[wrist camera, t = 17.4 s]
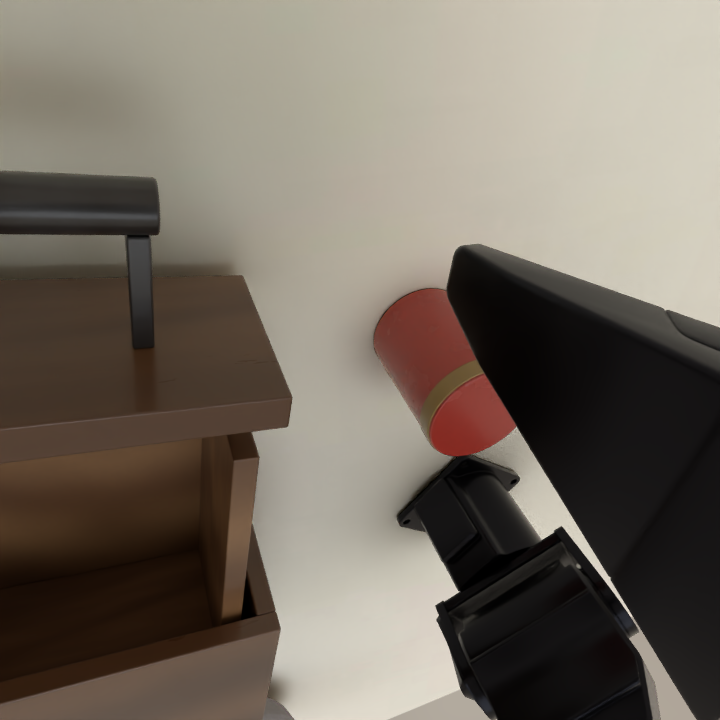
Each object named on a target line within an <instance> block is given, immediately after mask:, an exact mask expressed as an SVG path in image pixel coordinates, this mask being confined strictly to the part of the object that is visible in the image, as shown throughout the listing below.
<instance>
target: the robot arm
mask: <svg viewBox="0 0 720 720" xmlns="http://www.w3.org/2000/svg"><path fill="white" fill-rule="evenodd" d="M447 297H448V300H449V303H450V305H451V307H452V309H453V311H454V313H455V315H456V318H457V320H458V322H459V324H460V326H461V328H462V330H463V333H464V335H465V337H466V339H467V341H468V343H469V345H470V347H471V350H472V352H473V354H474V356H475V358H476V360H477V362H478V364H479V365H480V367H481V369H482V371H483V372H484V374H485V376H486V377H487V379H488V381H489V382H490V384H491V386H492V387H493V389H494V390H495V392H496V394H497V395H498V397H499V399H500V400H501V402H502V403H503V405H504V407H505V408H506V410H507V412H508V413H509V415H510V417H511V418H512V420H513V421H514V423H515V425H516V426H517V428H518V430H519V431H520V433H521V434H522V436H523V438H524V439H525V441H526V443H527V444H528V446H529V447H530V449H531V451H532V452H533V454H534V456H535V457H536V459H537V460H538V462H539V464H540V465H541V467H542V469H543V470H544V472H545V473H546V475H547V477H548V478H549V480H550V482H551V483H552V485H553V487H554V488H555V490H556V491H557V493H558V495H559V496H560V498H561V500H562V501H563V503H564V504H565V506H566V508H567V509H568V511H569V513H570V514H571V516H572V517H573V519H574V521H575V522H576V524H577V526H578V527H579V529H580V530H581V532H582V534H583V535H584V537H585V539H586V540H587V542H588V543H589V545H590V547H591V548H592V550H593V552H594V553H595V555H596V556H597V558H598V560H599V561H600V563H601V565H602V566H603V568H604V570H605V571H606V573H607V574H608V576H609V577H611V581H612V583H613V585H614V586H615V588H616V590H617V591H618V593H619V594H620V596H621V598H622V599H623V601H624V603H625V604H626V606H627V608H628V609H629V611H630V612H631V614H632V616H633V617H634V619H635V621H636V622H637V624H638V625H639V627H640V629H641V630H642V632H643V634H644V635H645V637H646V638H647V640H648V642H649V643H650V645H651V647H652V648H653V650H654V652H655V653H656V655H657V656H658V658H659V660H660V661H661V663H662V664H663V666H664V668H665V669H666V671H667V673H668V674H669V676H670V678H671V679H672V681H673V683H674V684H675V686H676V687H677V689H678V691H679V692H680V694H681V695H682V697H683V699H684V700H685V702H686V704H687V705H688V706H689V709H690V710H691V712H692V713H693V715H694V716H695V718H696V719H697V720H720V327H717V326H714V325H711V324H708V323H705V322H702V321H699V320H696V319H693V318H690V317H687V316H684V315H681V314H678V313H676V312H673V311H670V310H666V311H665V310H664V309H663V308H661V307H658V306H655V305H653V304H650V303H647V302H644V301H641V300H638V299H635V298H633V297H630V296H627V295H624V294H621V293H618V292H616V291H613V290H610V289H607V288H604V287H601V286H598V285H596V284H593V283H590V282H587V281H584V280H581V279H578V278H576V277H573V276H570V275H567V274H564V273H561V272H559V271H556V270H553V269H550V268H547V267H544V266H541V265H539V264H536V263H533V262H530V261H527V260H524V259H521V258H519V257H516V256H513V255H510V254H507V253H504V252H502V251H499V250H496V249H493V248H490V247H487V246H484V245H481V244H472V245H463V246H460V247H458V248H457V249H456V251H455V253H454V256H453V260H452V265H451V269H450V274H449V278H448V283H447ZM519 481H520V477H519V476H518V474H517V473H516V472H513V471H511V470H508V469H506V468H503V467H500V466H498V465H495V464H492V463H490V462H487V461H485V460H482V459H479V458H477V457H474V456H471V455H465V456H458V457H457V458H456V459H455V460H454V461H453V462H452V463H451V464H450V465H449V466H448V467H447V468H446V469H445V470H444V471H443V472H442V473H441V474H440V475H439V476H438V477H437V478H436V479H435V480H434V481H433V482H432V483H431V484H430V485H429V486H428V487H427V488H426V489H425V490H424V491H423V492H422V493H421V494H420V495H419V496H418V497H417V498H416V499H415V500H414V501H413V502H412V503H411V504H410V505H409V506H408V507H407V508H406V509H405V510H404V511H403V512H402V513H401V514H400V515H399V516H398V517H397V521H398V523H399V525H400V526H401V527H405V528H410V529H414V530H419V531H424V532H426V533H427V534H428V536H429V538H430V540H431V542H432V544H433V546H434V548H435V550H436V552H437V553H438V555H439V557H440V559H441V561H442V562H443V563H444V565H445V567H446V569H447V571H448V573H449V574H450V576H451V578H452V580H453V582H454V584H455V586H456V588H457V590H458V591H460V592H459V593H457V594H456V595H454V596H453V597H451V598H450V599H448V600H446V601H445V602H444V601H442V602H440V603H439V604H437V605H435V606H436V609H437V612H438V614H439V616H438V618H437V622H438V624H439V627H440V629H441V631H442V633H443V635H444V637H445V639H446V641H447V644H448V646H449V649H450V652H451V656H452V660H453V663H454V667H455V671H456V674H457V678H458V682H459V686H460V689H461V691H462V693H463V694H464V696H465V697H467V698H469V699H472V700H475V701H476V702H477V704H478V705H479V706H480V707H481V708H482V710H483V711H484V713H485V714H486V715H487V716H488V717H489V718H490V719H491V720H496V719H497V720H661V718H660V711H659V705H658V698H657V692H656V686H655V682H654V680H653V678H652V676H651V675H650V673H649V671H648V669H647V667H646V665H645V663H644V661H643V659H642V658H641V656H640V654H639V652H638V651H637V649H636V648H635V647H634V645H633V644H632V643H631V641H630V640H629V638H630V637H632V636H633V635H635V634H637V633H638V632H639V630H638V629H637V627H636V625H635V624H634V622H633V620H632V619H631V617H630V616H629V614H628V613H627V611H626V610H625V608H624V607H623V606H622V604H621V603H620V601H619V600H618V598H617V597H616V596H615V594H614V593H613V592H612V590H611V589H610V588H609V586H608V585H607V584H606V582H605V581H604V580H603V578H602V577H601V576H600V574H599V573H598V572H597V571H596V569H595V568H594V567H593V565H592V564H591V563H590V562H589V560H588V559H587V558H586V557H585V555H584V554H583V553H582V551H581V550H580V549H579V548H578V546H577V545H576V544H575V542H574V541H573V540H572V539H571V537H570V536H569V535H568V533H567V532H566V531H565V530H564V528H563V527H562V526H561V527H559V528H558V529H556V530H554V533H553V534H551V535H550V536H548V537H546V538H545V539H543V540H541V538H540V537H539V535H538V534H537V533H536V531H535V530H534V528H533V527H532V525H531V524H530V522H529V521H528V520H527V518H526V517H525V515H524V514H523V512H522V511H521V509H520V508H519V507H518V505H517V504H516V502H515V501H514V499H513V498H512V496H511V495H510V494H509V491H510V490H511V489H512V488H513V487H514V486H515V485H516V484H517V483H518V482H519Z"/></svg>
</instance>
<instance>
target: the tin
mask: <svg viewBox="0 0 720 720" xmlns="http://www.w3.org/2000/svg"><path fill="white" fill-rule="evenodd" d="M374 349H375V352H376V354H377V356H378V358H379V360H380V361H381V363H382V364H383V366H384V368H385V369H386V371H387V373H388V374H389V376H390V377H391V379H392V381H393V382H394V384H395V386H396V387H397V389H398V390H399V392H400V394H401V395H402V397H403V398H404V400H405V402H406V403H407V405H408V407H409V408H410V410H411V411H412V413H413V415H414V416H415V418H416V419H417V421H418V423H419V424H420V426H421V429H422V431H423V433H424V435H425V436H426V438H427V440H428V441H429V443H430V445H431V446H432V447H433V448H434V449H436V450H437V451H439V452H441V453H443V454H445V455H449V456H465V455H470V454H474V453H477V452H480V451H482V450H484V449H487V448H489V447H491V446H492V445H494V444H496V443H497V442H499V441H500V440H502V439H503V438H504V437H506V436H507V435H508V434H509V433H510V432H511V431H512V430H513V429H514V428H515V427H516V425H515V423H514V421H513V420H512V418H511V417H510V415H509V413H508V412H507V410H506V408H505V407H504V405H503V403H502V402H501V400H500V399H499V397H498V395H497V394H496V392H495V390H494V389H493V387H492V386H491V384H490V382H489V381H488V379H487V377H486V376H485V374H484V372H483V371H482V369H481V367H480V365H479V364H478V362H477V360H476V358H475V356H474V354H473V352H472V350H471V347H470V345H469V343H468V341H467V339H466V337H465V335H464V333H463V330H462V328H461V326H460V324H459V322H458V320H457V318H456V315H455V313H454V311H453V309H452V307H451V305H450V303H449V300H448V297H447V291H444V290H441V289H423V290H419V291H416V292H413V293H411V294H408V295H406V296H405V297H403V298H401V299H400V300H398V301H397V302H396V303H394V304H393V305H392V306H391V307H390V308H389V309H388V310H387V311H386V312H385V314H384V315H383V316H382V318H381V320H380V321H379V323H378V325H377V328H376V331H375V335H374Z"/></svg>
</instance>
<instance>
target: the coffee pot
mask: <svg viewBox="0 0 720 720" xmlns="http://www.w3.org/2000/svg"><path fill="white" fill-rule="evenodd" d="M263 720H294V718H293V717H292V716H291V715H290V713H289V712H288V711H287V710H286V709H285V707H284V706H283V705H282V704H280V703H278V702H277V701H275V700H273V699H271V698H267V701H266V706H265V711H264V716H263Z"/></svg>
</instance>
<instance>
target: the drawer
mask: <svg viewBox="0 0 720 720" xmlns="http://www.w3.org/2000/svg"><path fill="white" fill-rule="evenodd" d="M159 232H160V203H159V192H158V185H157V181H156V179H155V178H153V177H133V176H110V175H88V174H65V173H42V172H20V171H0V234H40V235H125V245H126V261H127V276H128V277H124V278H74V279H23V280H0V682H2V681H6V680H10V679H14V678H17V677H21V676H25V675H29V674H33V673H37V672H41V671H45V670H49V669H53V668H57V667H61V666H64V665H68V664H72V663H76V662H80V661H84V660H88V659H92V658H96V657H100V656H104V655H107V654H111V653H115V652H119V651H123V650H127V649H131V648H135V647H139V646H143V645H147V644H151V643H154V642H158V641H162V640H166V639H170V638H174V637H178V636H182V635H186V634H190V633H194V632H197V631H201V630H205V629H209V628H213V627H217V626H221V625H225V624H229V623H233V622H237V621H241V613H242V604H243V596H244V587H245V578H246V570H247V561H248V552H249V543H250V535H251V526H252V517H253V508H254V500H255V491H256V482H257V473H258V465H259V454H258V451H257V448H256V445H255V441H254V438H253V435H252V432H253V431H261V430H269V429H277V428H285V427H288V424H289V417H290V411H291V404H292V395H291V393H290V390H289V388H288V385H287V383H286V380H285V378H284V375H283V373H282V371H281V368H280V366H279V363H278V361H277V358H276V356H275V353H274V351H273V349H272V346H271V344H270V341H269V339H268V336H267V334H266V331H265V329H264V327H263V324H262V322H261V319H260V317H259V314H258V312H257V309H256V307H255V305H254V302H253V300H252V297H251V295H250V292H249V290H248V287H247V285H246V283H245V280H244V278H243V276H242V275H225V276H175V277H152V252H151V236H150V235H159Z"/></svg>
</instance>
